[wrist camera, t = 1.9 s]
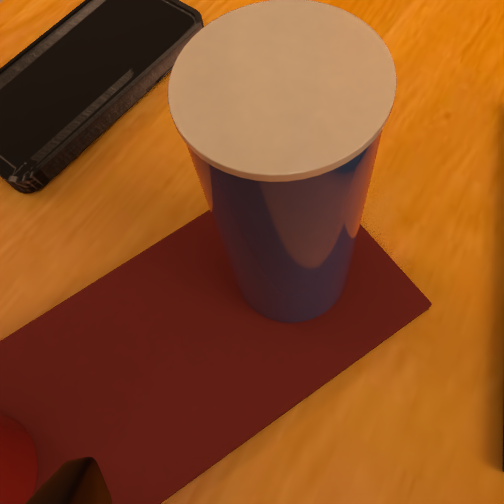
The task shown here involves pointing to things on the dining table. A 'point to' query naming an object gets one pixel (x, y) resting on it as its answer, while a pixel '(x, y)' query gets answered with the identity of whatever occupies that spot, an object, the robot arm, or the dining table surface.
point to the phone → (84, 81)
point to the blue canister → (285, 143)
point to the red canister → (16, 462)
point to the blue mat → (503, 449)
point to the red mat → (183, 361)
